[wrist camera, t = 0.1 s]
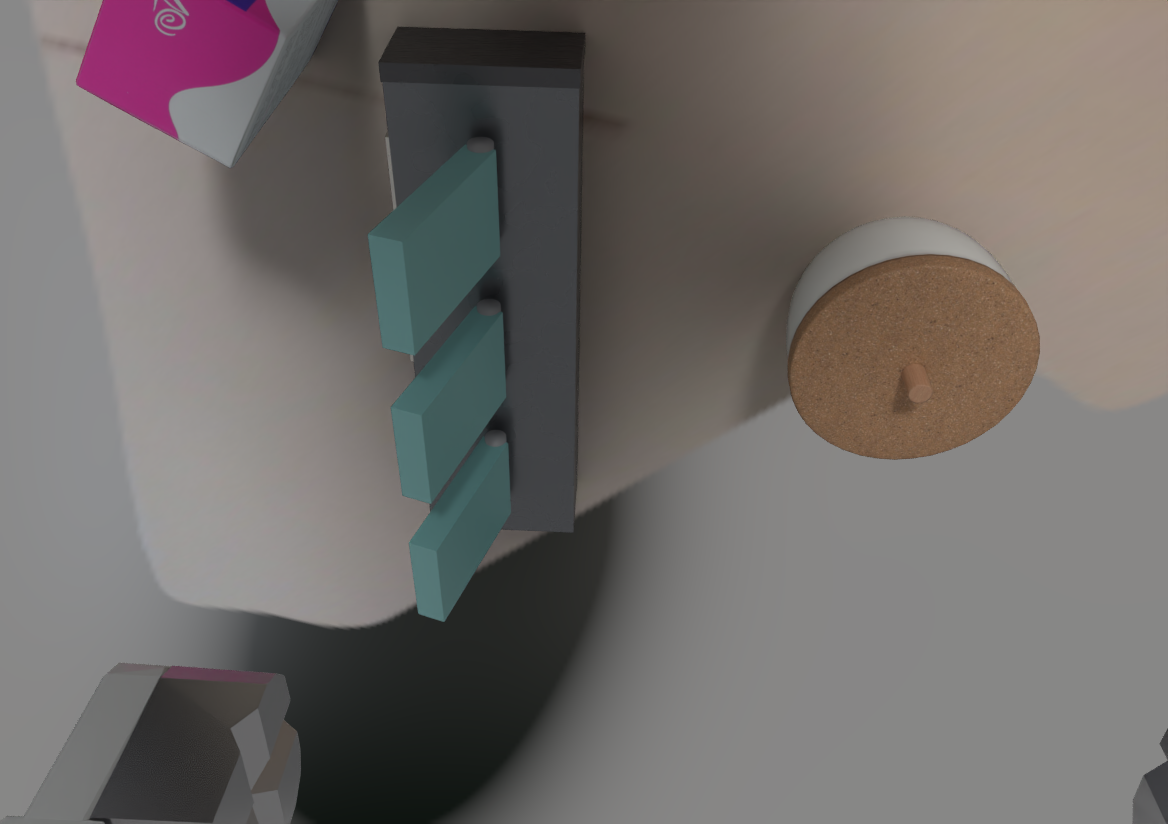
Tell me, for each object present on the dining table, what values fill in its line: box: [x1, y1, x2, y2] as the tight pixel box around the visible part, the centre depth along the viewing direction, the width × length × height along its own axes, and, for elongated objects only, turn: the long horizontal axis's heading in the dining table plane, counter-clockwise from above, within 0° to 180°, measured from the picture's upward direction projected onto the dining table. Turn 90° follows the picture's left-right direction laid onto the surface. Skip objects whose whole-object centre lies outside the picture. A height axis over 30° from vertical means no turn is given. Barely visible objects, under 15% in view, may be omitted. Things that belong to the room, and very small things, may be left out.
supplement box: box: [76, 0, 338, 168], centre depth 39 cm, size 6×6×12 cm
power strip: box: [379, 27, 585, 533], centre depth 51 cm, size 27×8×4 cm, turn 179°
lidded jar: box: [786, 217, 1040, 460], centre depth 48 cm, size 11×11×9 cm
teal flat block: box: [409, 430, 511, 622], centre depth 52 cm, size 5×1×8 cm, turn 179°
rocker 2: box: [391, 299, 506, 504], centre depth 47 cm, size 5×1×8 cm, turn 179°
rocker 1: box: [368, 137, 500, 356], centre depth 41 cm, size 5×1×8 cm, turn 179°
